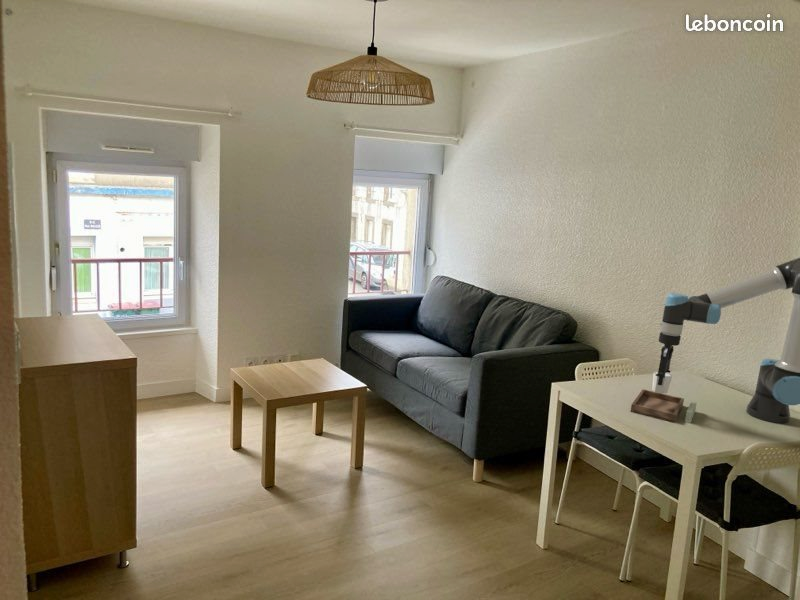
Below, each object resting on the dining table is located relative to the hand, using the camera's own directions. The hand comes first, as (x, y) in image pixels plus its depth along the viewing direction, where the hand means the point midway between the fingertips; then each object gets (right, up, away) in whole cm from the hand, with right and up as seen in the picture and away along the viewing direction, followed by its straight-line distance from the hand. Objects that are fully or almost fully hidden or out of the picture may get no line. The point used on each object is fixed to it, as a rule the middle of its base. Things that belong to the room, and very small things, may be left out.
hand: (660, 390), depth 252 cm
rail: (+10, -10, -4) cm, 14 cm away
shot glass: (0, 0, 0) cm, 1 cm away
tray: (-1, -7, +1) cm, 8 cm away
